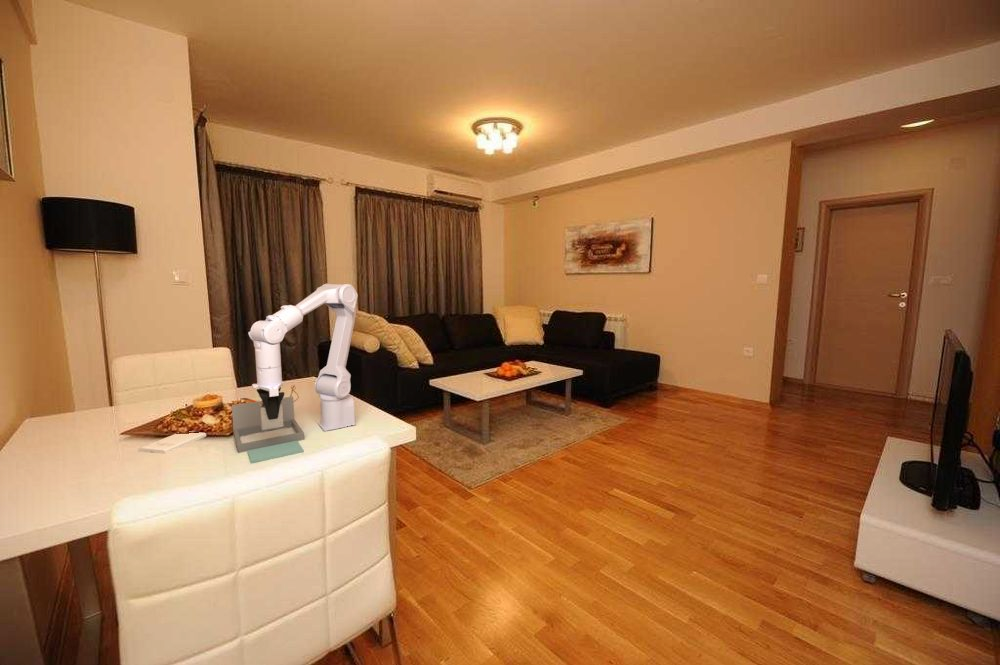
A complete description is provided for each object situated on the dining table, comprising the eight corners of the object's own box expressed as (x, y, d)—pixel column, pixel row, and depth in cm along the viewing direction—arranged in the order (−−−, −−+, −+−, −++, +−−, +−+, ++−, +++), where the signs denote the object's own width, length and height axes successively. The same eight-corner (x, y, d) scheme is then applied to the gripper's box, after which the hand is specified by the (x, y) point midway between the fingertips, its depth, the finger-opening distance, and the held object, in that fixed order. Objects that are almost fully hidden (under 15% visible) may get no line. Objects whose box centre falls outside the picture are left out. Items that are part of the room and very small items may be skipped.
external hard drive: (206, 438, 119) (165, 455, 107) (182, 436, 120) (138, 453, 108) (206, 432, 119) (164, 449, 107) (181, 430, 120) (138, 447, 108)
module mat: (297, 442, 115) (297, 440, 115) (303, 451, 109) (303, 450, 109) (247, 452, 108) (247, 450, 108) (250, 463, 102) (250, 461, 102)
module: (281, 422, 113) (279, 400, 112) (283, 426, 110) (282, 404, 109) (260, 425, 110) (258, 403, 109) (261, 430, 107) (260, 407, 106)
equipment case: (294, 424, 129) (292, 396, 128) (304, 439, 117) (302, 408, 116) (233, 435, 120) (231, 405, 119) (238, 452, 108) (235, 419, 107)
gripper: (248, 363, 112) (251, 411, 113) (254, 373, 100) (257, 427, 102) (277, 360, 116) (280, 407, 117) (286, 370, 104) (289, 422, 106)
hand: (271, 416), depth 110 cm, fingers closed on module, 4 cm apart
